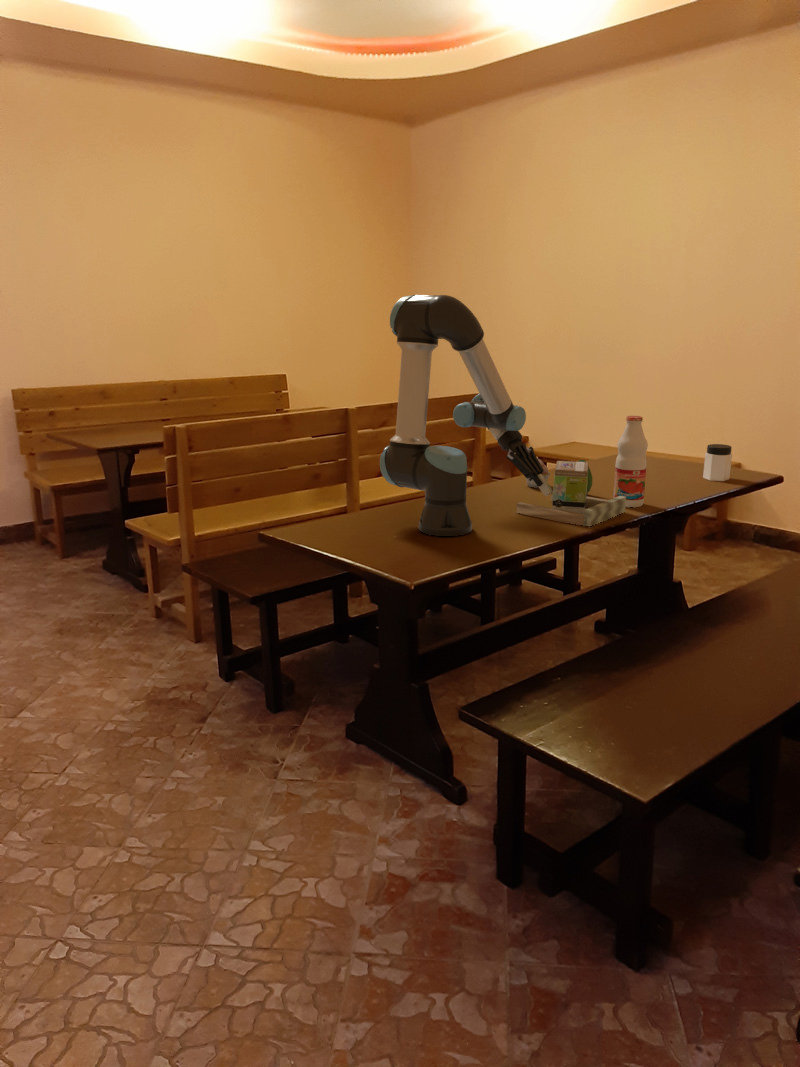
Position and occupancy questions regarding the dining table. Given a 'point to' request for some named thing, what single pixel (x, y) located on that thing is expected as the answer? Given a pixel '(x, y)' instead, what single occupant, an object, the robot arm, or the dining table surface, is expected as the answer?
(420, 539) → the dining table surface
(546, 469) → the cupcake
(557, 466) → the tea box
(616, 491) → the fruit juice
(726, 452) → the jar
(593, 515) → the chute
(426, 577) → the dining table surface
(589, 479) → the avocado
